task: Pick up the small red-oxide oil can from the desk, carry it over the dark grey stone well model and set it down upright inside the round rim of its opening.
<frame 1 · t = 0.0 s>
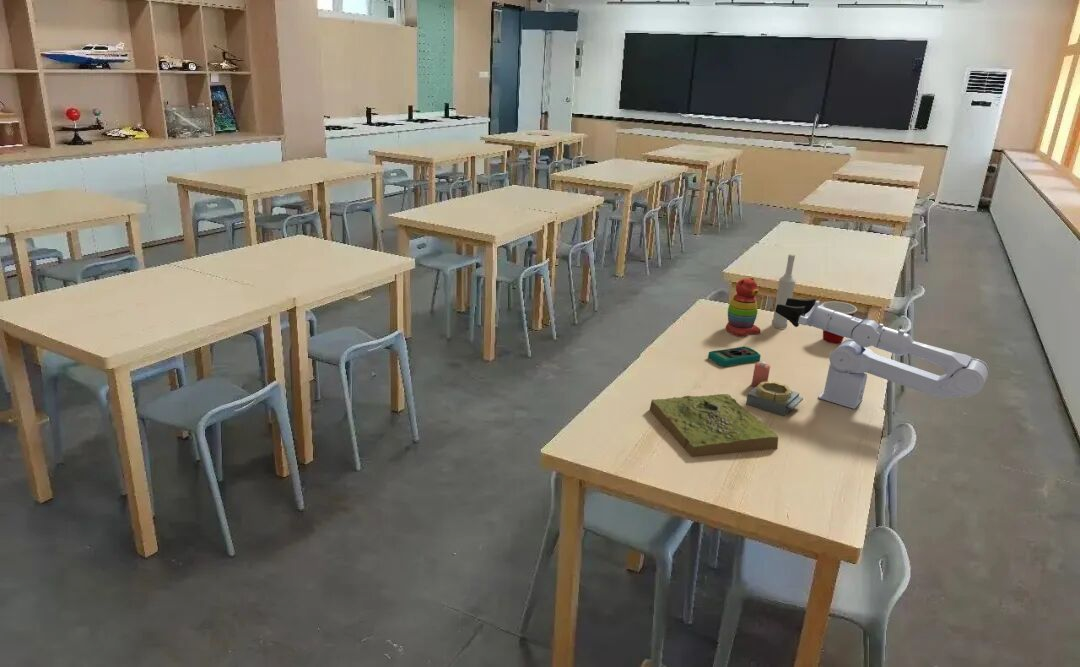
hand: (781, 304, 198), 22 cm above the table, tool horizontal, fingers open, 7 cm apart
digital multimeter: (733, 361, 217), on the table
stone well model: (771, 403, 189), on the table
miniature landscape model: (710, 431, 175), on the table
bottle: (778, 326, 248), on the table
plastic cup: (831, 341, 237), on the table
stacking bear: (740, 331, 242), on the table
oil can: (759, 385, 200), on the table
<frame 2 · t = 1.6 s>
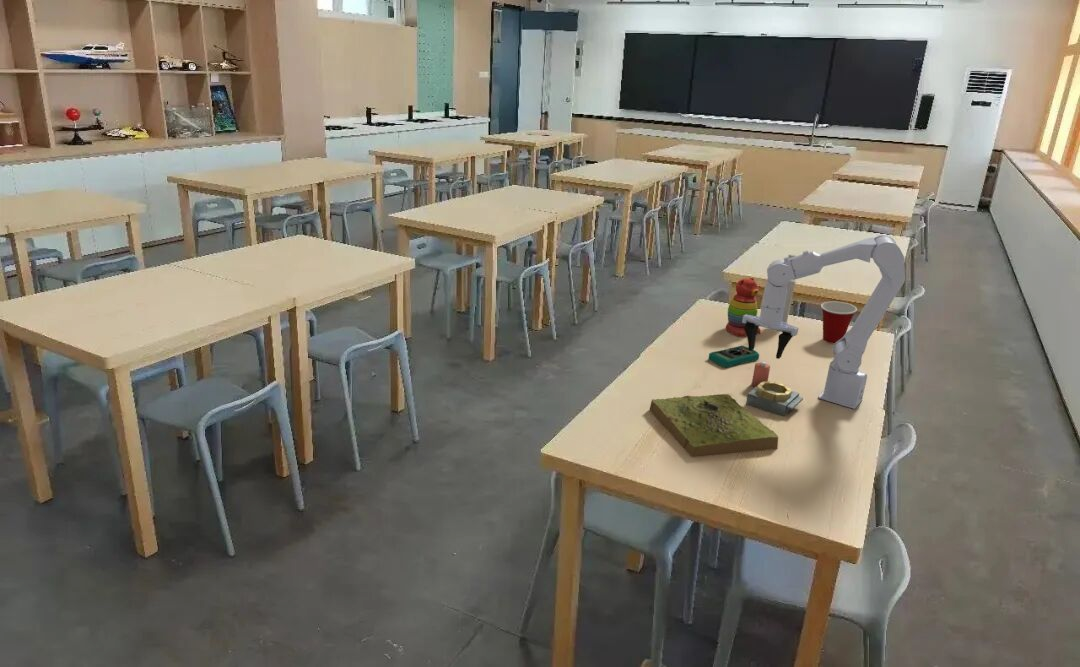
hand: (764, 353, 197), 9 cm above the table, tool pointing down, fingers open, 7 cm apart
nothing on the table moved.
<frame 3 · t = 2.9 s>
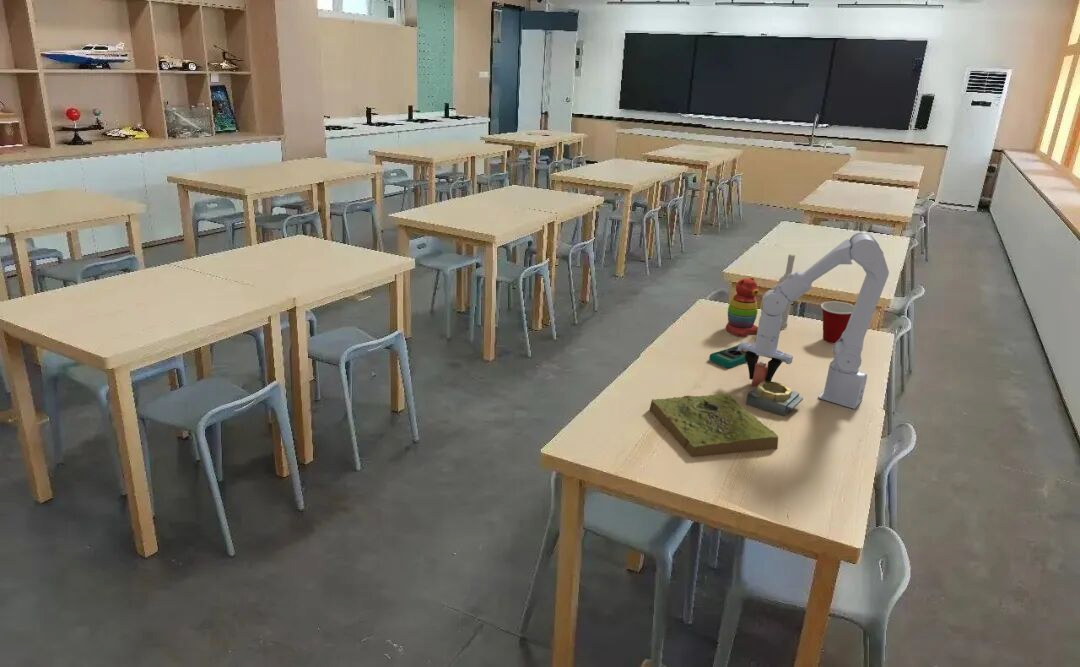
hand: (759, 380, 200), 1 cm above the table, tool pointing down, fingers closed on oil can, 4 cm apart
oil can: (759, 385, 200), on the table, touching gripper
everything else where it was.
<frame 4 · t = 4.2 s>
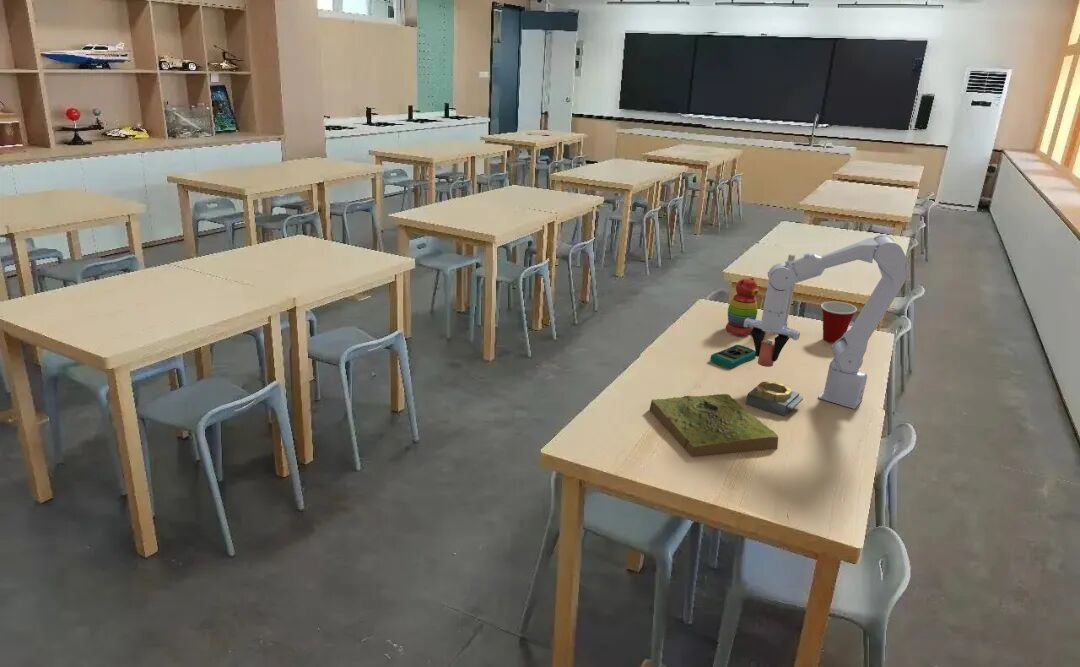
hand: (766, 357, 195), 9 cm above the table, tool pointing down, fingers closed on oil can, 4 cm apart
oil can: (765, 363, 196), point 7 cm above the table, touching gripper
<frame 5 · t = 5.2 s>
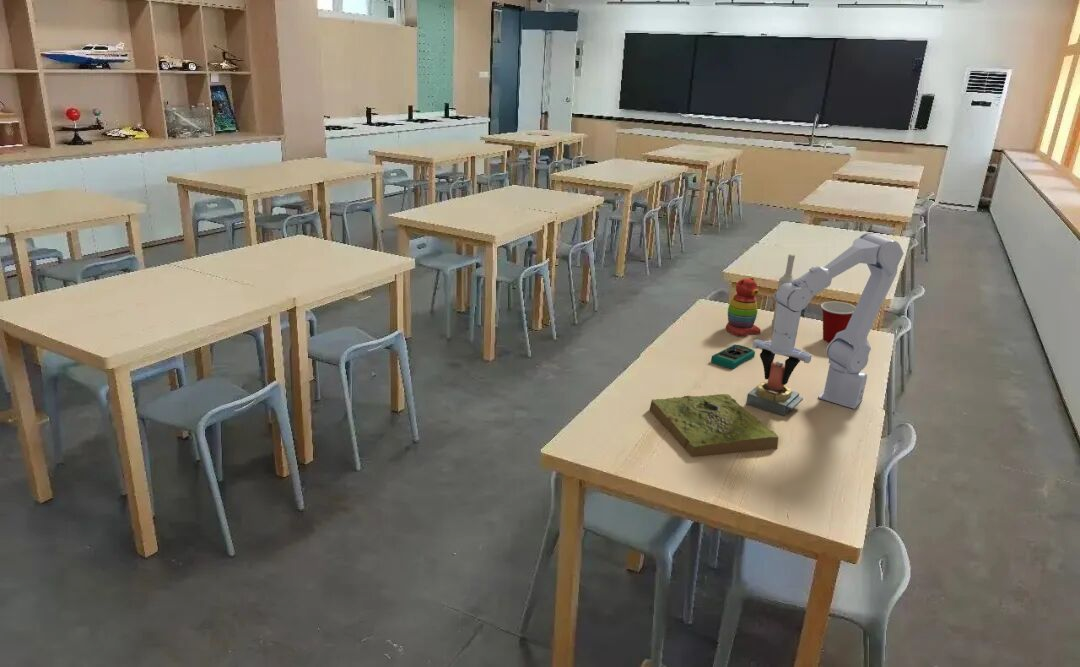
hand: (775, 380, 187), 7 cm above the table, tool pointing down, fingers closed on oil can, 4 cm apart
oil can: (775, 386, 188), point 5 cm above the table, touching gripper
when the fingers open (6 cm above the table, at t = 5.8 s): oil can stays where it is, resting on stone well model.
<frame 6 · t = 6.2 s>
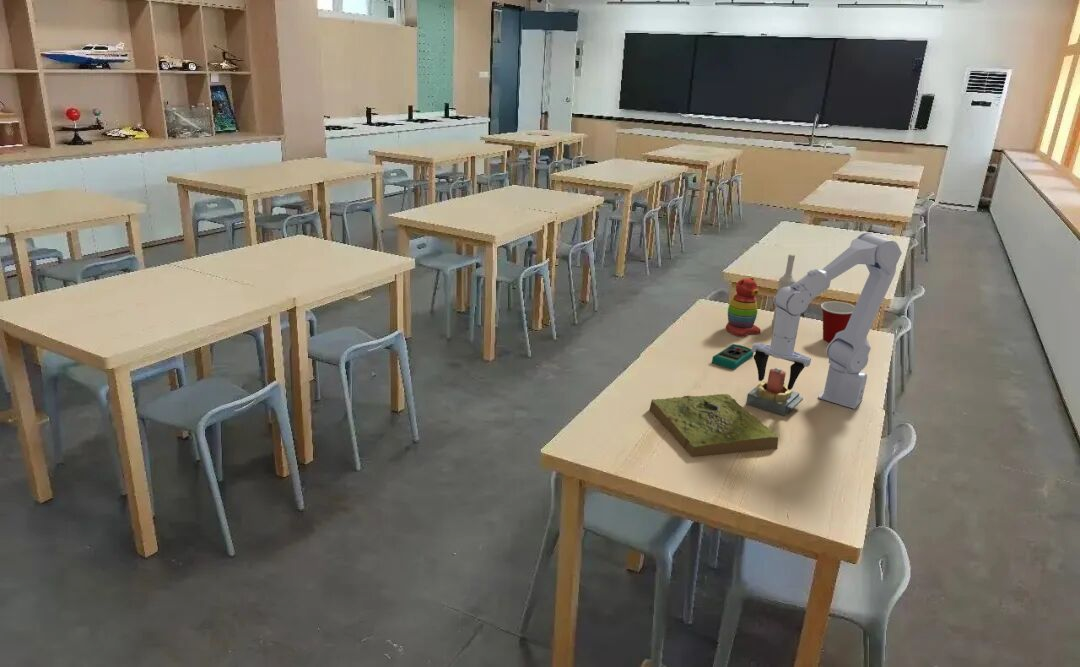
hand: (775, 384, 187), 6 cm above the table, tool pointing down, fingers open, 7 cm apart
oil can: (773, 393, 188), point 3 cm above the table, touching stone well model
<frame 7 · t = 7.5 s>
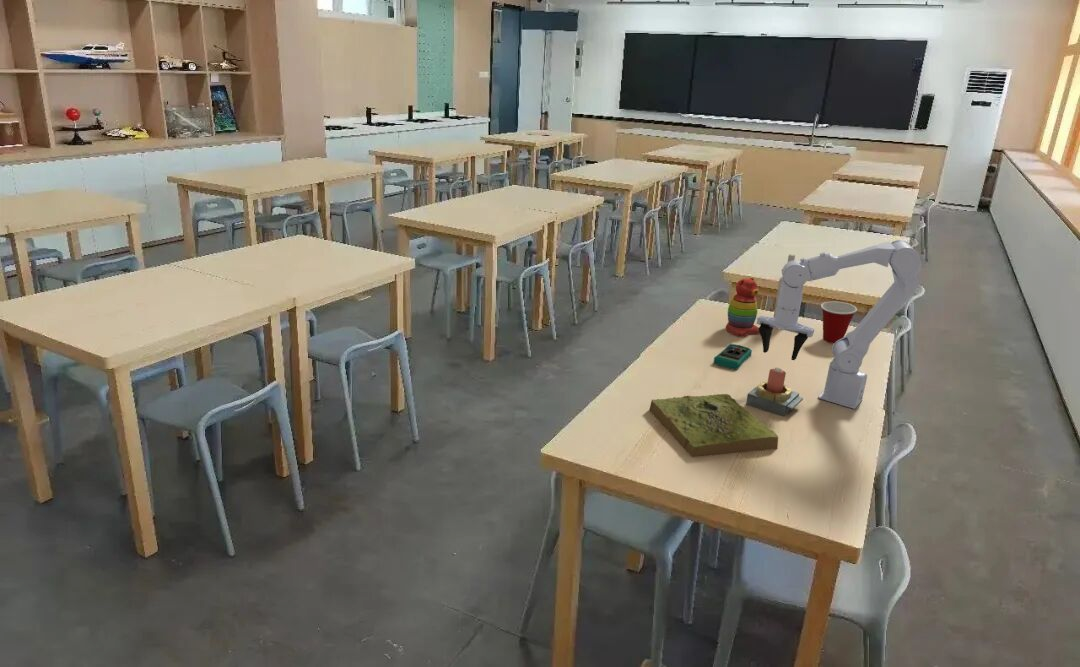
hand: (779, 355, 195), 10 cm above the table, tool pointing down, fingers open, 7 cm apart
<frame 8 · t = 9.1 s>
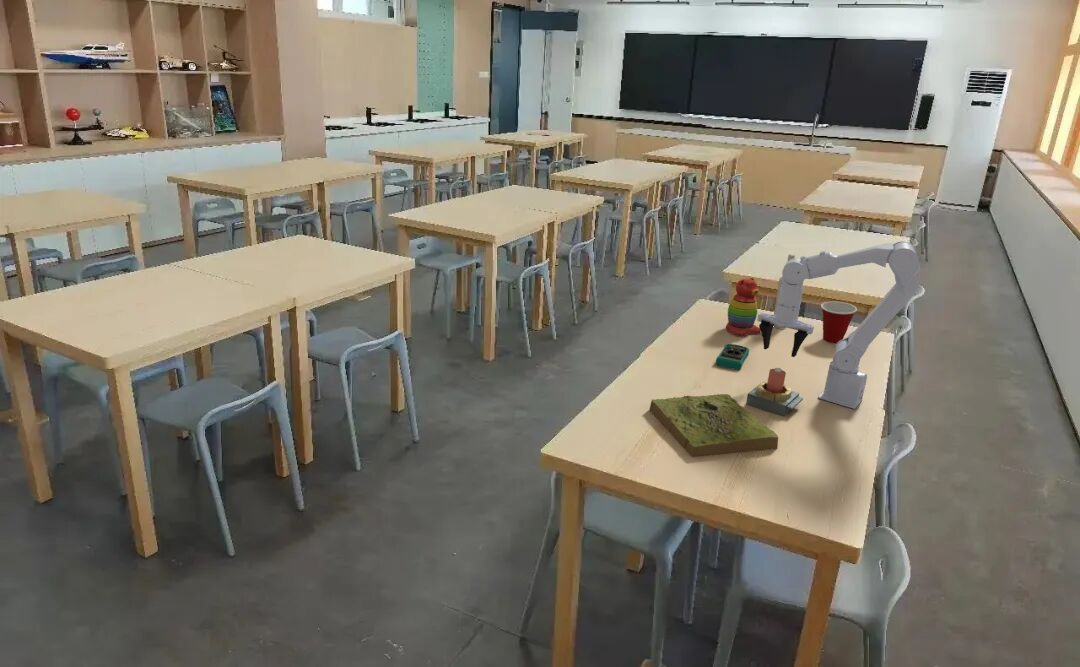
hand: (779, 352, 197), 10 cm above the table, tool pointing down, fingers open, 7 cm apart
at the end: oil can 0.2 cm off-centre on the stone well model, point 3.0 cm above the stone well model's base; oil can tilted 0°; the gripper is holding nothing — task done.
